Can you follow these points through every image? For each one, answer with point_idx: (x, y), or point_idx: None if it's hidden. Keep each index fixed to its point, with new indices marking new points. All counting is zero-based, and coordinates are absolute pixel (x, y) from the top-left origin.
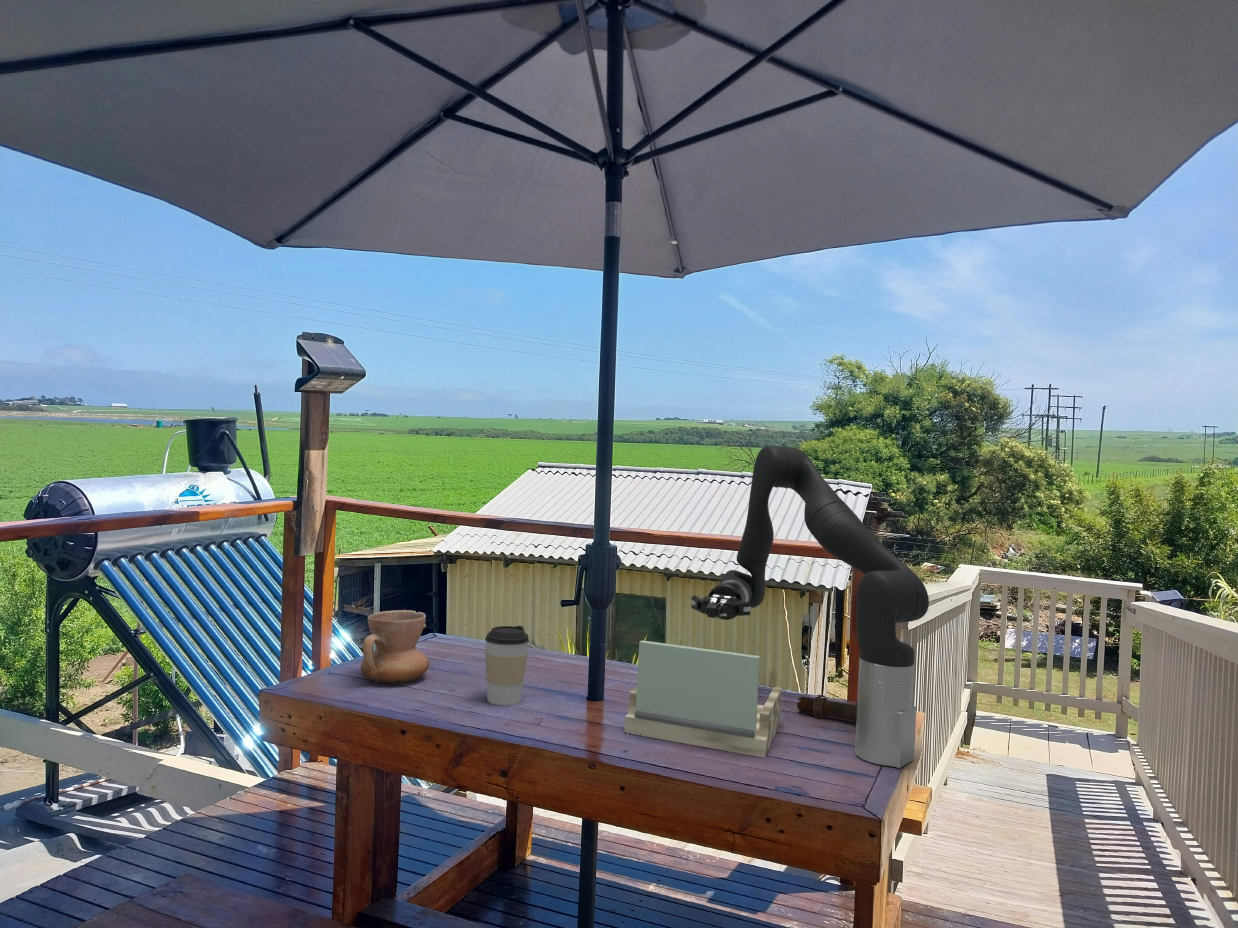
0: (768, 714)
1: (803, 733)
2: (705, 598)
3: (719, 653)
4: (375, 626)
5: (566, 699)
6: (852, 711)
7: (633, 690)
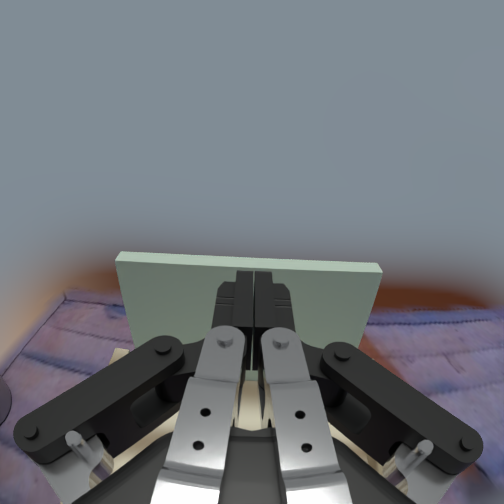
0: (116, 348)
1: None
2: (400, 492)
3: (199, 256)
4: None
5: (495, 444)
6: None
7: None
